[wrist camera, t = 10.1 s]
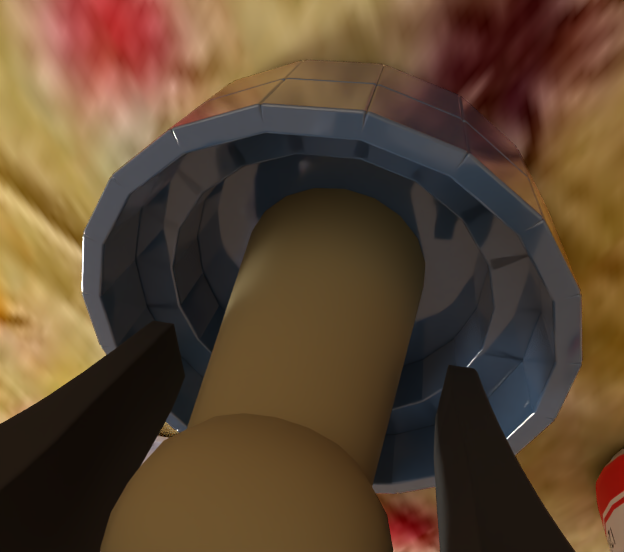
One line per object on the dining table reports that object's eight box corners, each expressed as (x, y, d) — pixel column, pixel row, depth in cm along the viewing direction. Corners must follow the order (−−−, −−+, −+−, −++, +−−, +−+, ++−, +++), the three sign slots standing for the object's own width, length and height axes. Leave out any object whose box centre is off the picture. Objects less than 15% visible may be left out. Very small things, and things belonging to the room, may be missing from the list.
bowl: (491, 416, 19) (504, 526, 16) (186, 366, 22) (136, 453, 18) (615, 71, 12) (695, 133, 8) (118, 45, 14) (7, 85, 10)
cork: (415, 175, 14) (381, 610, 5) (433, 334, 17) (433, 767, 8) (224, 199, 15) (-49, 551, 7) (274, 339, 19) (133, 700, 10)
